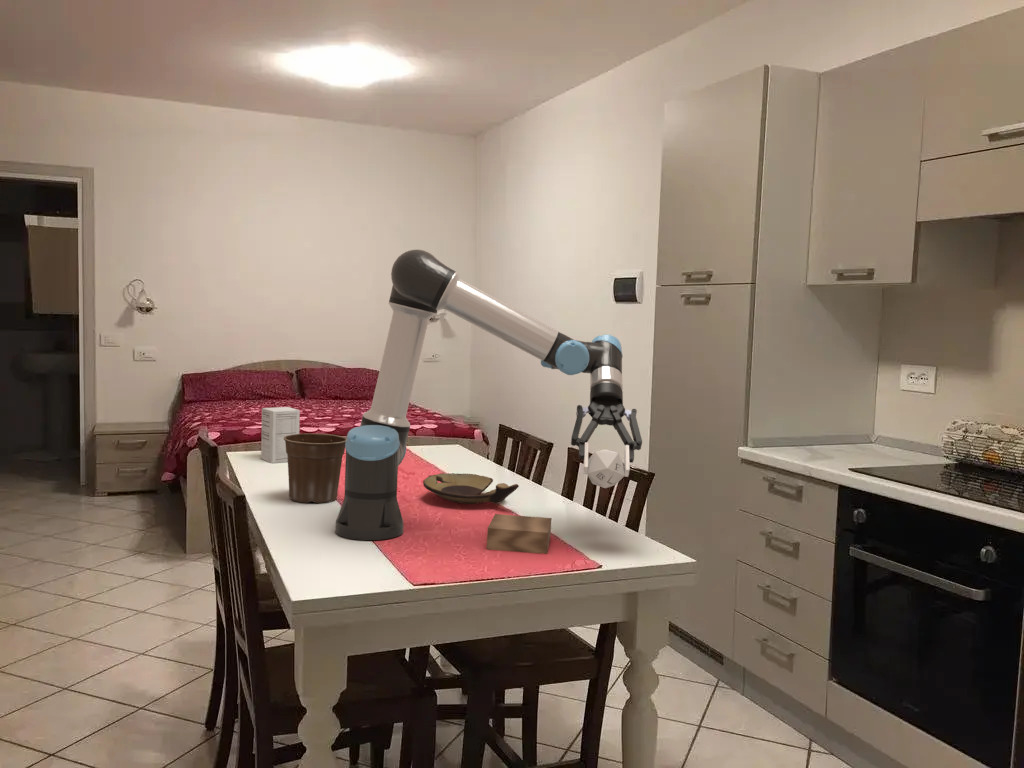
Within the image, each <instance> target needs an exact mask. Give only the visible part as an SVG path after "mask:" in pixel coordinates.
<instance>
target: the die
mask: <svg viewBox="0 0 1024 768" xmlns="http://www.w3.org/2000/svg"><path fill="white" fill-rule="evenodd" d="M586 475H587V476H588V478H589V480H590V482H591V484H592V485H595V486H598V487H601V488H602V489H603V488H604V489H607V488H611V487H613V486H616V485H617V484H618V483H619V482H620V481H621V480H622V479H623V478H624V477H625V468H624V462H623V460H622V457H621V456H620V453H619V452H617V451H613V450H609V449H606V448H604V449H601V450H596V451H594V452H593V453H592V455H591V456H589V457H588V470H587V474H586Z"/></svg>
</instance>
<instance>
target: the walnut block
mask: <svg viewBox="0 0 1024 768" xmlns="http://www.w3.org/2000/svg"><path fill="white" fill-rule="evenodd" d="M486 531H487V533H486V550H490V551H492V550H493V551H502V552H504V551H505V552H518V553H530V554H541V553H544V554H543V555H545V554H546V555H547V554H548V552H547V551H549V546H550V542H551V536H552V535H551V534H552V532H551V531H552V517H542V516H528V515H514V514H513V515H512V514H510V515H509V514H503V513H502V514H501V513H495V514H494V515H493V517H492V519H491V520H490V523H489V525H488V527H487V530H486Z"/></svg>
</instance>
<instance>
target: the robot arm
mask: <svg viewBox="0 0 1024 768" xmlns="http://www.w3.org/2000/svg"><path fill="white" fill-rule="evenodd" d="M395 259H396V260H395V261H394V262H393V264H392V267H391V271H390V272H391V273H390V277H391V282H392V287H391V292H390V296H389V301H388V305H389V307H390V308H391V310H392V316H391V320H390V325H389V329H388V333H387V338H386V342H385V346H384V350H383V355H382V359H381V363H380V368H379V371H378V375H377V381H376V385H375V389H374V393H373V396H372V397H373V398H372V403H371V407H370V409H368V410H367V411H366V412H364V413H363V414H362V417H361V421H360V424H359V426H356V427H353V428H351V429H350V430H349V431H348V432H347V434H346V438H347V440H346V443H345V468H344V469H345V471H344V497H343V501H342V503H341V506H340V509H339V512H338V514H337V517H336V520H335V529H334V530H335V531H334V532H335V533H336V535H338V536H340V537H342V538H345V539H351V540H359V541H361V540H362V541H381V540H388V539H393V538H396V537H400V536H401V535H402V534H403V533H404V523H405V522H404V519H403V516H402V511H401V510H400V508H401V507H400V505H399V502H398V478H399V477H398V474H399V471H398V470H399V466H400V465H401V463H402V462H403V460H404V459H405V457H406V454H407V453H406V451H407V441H408V437H409V432H410V427H411V423H410V421H409V420H408V418H407V414H408V409H409V405H410V400H411V396H412V392H413V389H414V383H415V380H416V375H417V371H418V367H419V362H420V358H421V354H422V349H423V345H424V341H425V338H426V333H427V330H428V329H427V328H428V324H429V321H430V319H432V318H434V317H436V316H437V313H438V311H440V310H445V311H447V312H449V313H451V314H453V315H455V316H456V317H459V318H461V319H462V320H465V321H466V322H468V323H470V324H472V325H474V326H476V327H478V328H480V329H481V330H483V331H485V332H487V333H489V334H491V335H493V336H495V337H496V338H498V339H500V340H502V341H504V342H506V343H508V344H510V345H511V346H514V347H516V348H517V349H520V350H522V351H523V352H525V353H527V354H529V355H531V356H533V357H534V358H537V359H538V360H540V365H541V366H542V368H548V369H551V370H559V371H560V372H562V374H565V375H567V376H574V375H578V374H581V373H583V374H590V380H589V381H590V382H589V384H590V385H589V389H590V393H589V404H588V406H582V405H581V404H579V405H576V412H575V413H576V414H575V415H576V419H575V422H574V423H575V424H574V427H573V430H572V435H571V440H570V445H571V446H573V447H574V446H577V447H578V458H579V460H583V474H584V475H587V470H588V459H589V440H590V438H591V437H592V435H593V434H594V431H595V430H596V429H597V428H598V426H599V425H600V426H605V425H606V426H612V427H613V428H614V430H616V432H617V434H618V436H619V437H620V439H621V441H622V443H623V444H624V452H623V454H624V455H623V456H624V457H623V459H624V462H623V465H624V473H625V476H624V477H627V478H629V475H630V470H631V469H630V466H631V465H630V463H634V459H635V451H636V450H637V451H640V450H641V449H642V445H643V438H642V436H641V431H640V428H639V423H638V420H637V413H638V412H637V411H638V410H637V408H631V410H630V409H626V408H625V406H624V400H623V399H624V397H623V395H624V394H623V393H624V391H623V386H624V385H623V351H622V344H621V342H620V340H619V339H618V338H617V337H616V336H614V335H612V334H603V335H597V336H595V337H593V339H592V341H582V340H577V339H573V338H572V337H569V335H566V334H564V333H562V332H561V331H559V330H557V329H555V328H553V327H551V326H549V325H547V324H546V323H544V322H542V321H540V320H538V319H536V318H534V317H532V316H531V315H529V314H527V313H526V312H525V313H524V312H523V311H521V310H520V309H518V308H516V307H513V306H511V305H510V304H508V303H506V302H504V301H502V300H500V298H499V299H498V298H497V297H495V296H493V295H491V294H489V293H487V292H485V291H483V290H481V289H480V288H478V287H476V286H474V285H473V284H471V283H469V282H467V281H465V280H463V279H461V278H460V277H459V273H458V272H457V271H456V270H454V269H452V268H450V267H449V266H447V265H446V264H444V263H443V262H442V261H440V260H439V259H437V257H436V256H435V255H433V254H432V253H430V252H429V251H426V250H423V249H410V250H408V251H405V252H402V254H400V255H399V256H398V257H397V258H395ZM587 414H588V415H589V416H590V417H591V420H590V422H589V424H588V425H587V427H586V428H585V430H584V432H583V434H582V435H581V436H580V437H579V435H580V431H581V428H582V425H583V420H584V418H585V417H586V416H587ZM624 416H625V417H626V420H627V421H629V422H628V424H629V428H630V433H631V434H630V433H629V431H628V429H627V428H626V426H625V424H624V422H623V419H622V418H623V417H624Z"/></svg>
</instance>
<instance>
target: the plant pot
mask: <svg viewBox="0 0 1024 768" xmlns="http://www.w3.org/2000/svg"><path fill="white" fill-rule="evenodd" d="M284 440H285V444H286V453H287V457H288V462H287V471H288V473H287V475H288V492H289V493H288V494H289V495H288V497H289V499H290V500H291V501H294V502H295V503H303V504H304V503H305V504H309V503H311V502H313V503H315V504H325V503H330V502H333V501H336V500H337V497H338V493H339V485H340V477H341V469H342V462H343V455H345V452H346V447H345V443H346V440H347V437H345V436H342V435H336V434H329V433H309V432H308V433H299V434H293V435H287V436H285V437H284Z"/></svg>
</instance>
